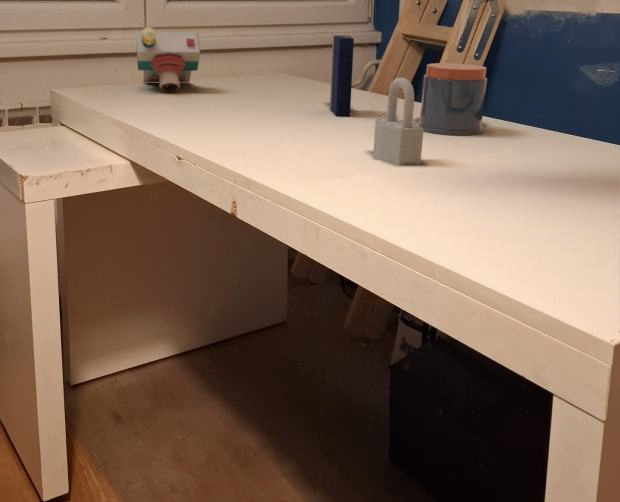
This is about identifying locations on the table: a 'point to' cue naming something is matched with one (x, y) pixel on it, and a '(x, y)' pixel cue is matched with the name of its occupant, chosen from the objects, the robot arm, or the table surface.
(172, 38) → the toy camera
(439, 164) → the table surface
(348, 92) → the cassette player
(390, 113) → the padlock
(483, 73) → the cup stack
